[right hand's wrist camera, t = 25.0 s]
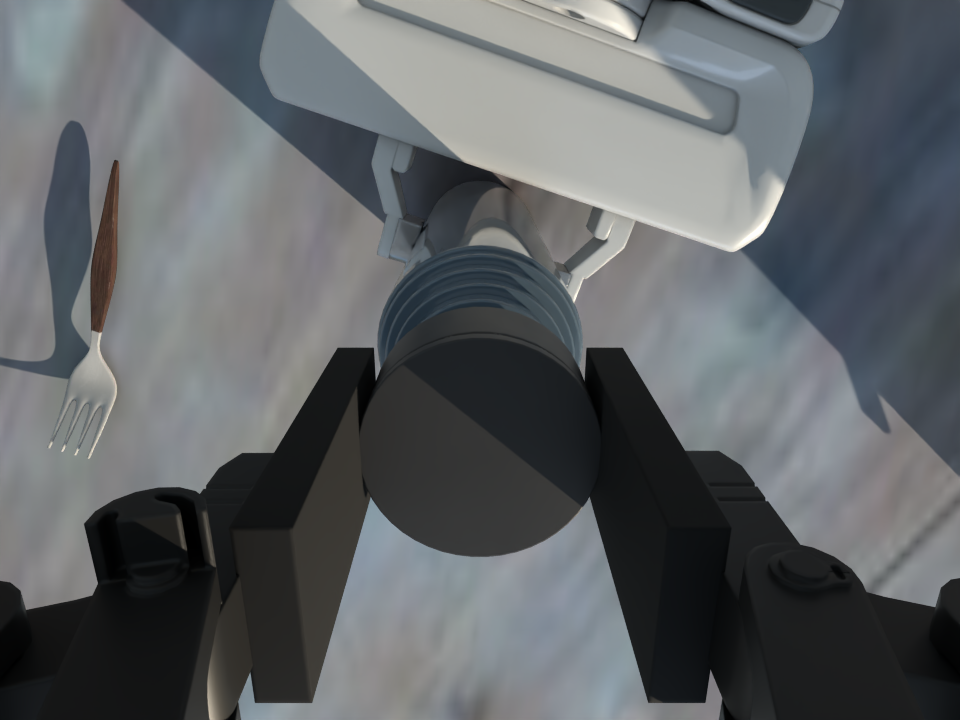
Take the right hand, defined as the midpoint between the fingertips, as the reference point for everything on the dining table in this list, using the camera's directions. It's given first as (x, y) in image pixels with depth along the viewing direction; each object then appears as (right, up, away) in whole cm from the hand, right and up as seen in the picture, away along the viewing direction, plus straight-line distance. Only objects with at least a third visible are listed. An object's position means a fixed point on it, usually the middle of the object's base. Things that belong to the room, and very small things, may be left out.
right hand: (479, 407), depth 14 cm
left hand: (0, +4, +14) cm, 15 cm away
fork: (-20, +4, +22) cm, 30 cm away
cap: (0, -1, -2) cm, 2 cm away
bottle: (0, +7, +20) cm, 22 cm away
